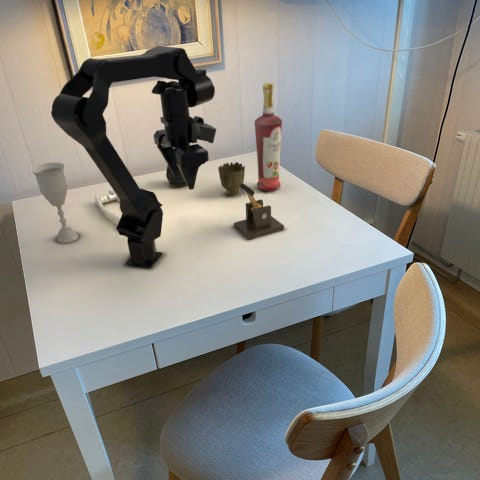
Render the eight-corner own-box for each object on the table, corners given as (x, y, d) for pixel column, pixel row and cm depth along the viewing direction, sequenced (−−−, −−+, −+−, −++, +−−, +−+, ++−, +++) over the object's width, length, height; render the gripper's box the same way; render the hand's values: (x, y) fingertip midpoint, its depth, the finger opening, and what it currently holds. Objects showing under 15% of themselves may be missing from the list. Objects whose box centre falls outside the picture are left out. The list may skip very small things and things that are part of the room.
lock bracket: (248, 239, 119) (247, 215, 115) (233, 226, 124) (232, 203, 120) (284, 229, 122) (284, 206, 118) (268, 217, 128) (268, 194, 124)
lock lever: (247, 193, 113) (255, 187, 113) (237, 186, 117) (245, 180, 117) (261, 222, 119) (269, 217, 120) (251, 215, 123) (259, 209, 123)
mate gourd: (196, 182, 149) (193, 149, 143) (181, 191, 144) (177, 157, 138) (177, 178, 152) (173, 145, 146) (162, 186, 147) (157, 153, 141)
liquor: (267, 195, 139) (266, 88, 122) (250, 188, 143) (247, 84, 126) (286, 188, 142) (288, 83, 125) (269, 181, 147) (269, 79, 130)
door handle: (119, 194, 144) (162, 223, 127) (88, 204, 139) (128, 235, 123) (117, 185, 142) (160, 214, 126) (85, 195, 137) (126, 225, 121)
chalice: (52, 246, 120) (30, 175, 109) (53, 234, 125) (32, 164, 114) (83, 241, 121) (64, 170, 110) (82, 229, 126) (64, 160, 115)
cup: (216, 191, 142) (214, 164, 137) (239, 186, 145) (237, 159, 140) (226, 201, 137) (224, 173, 132) (250, 195, 139) (249, 168, 134)
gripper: (228, 116, 101) (232, 188, 111) (193, 98, 115) (199, 163, 124) (178, 126, 98) (186, 199, 107) (148, 105, 111) (158, 172, 121)
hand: (184, 182), depth 115 cm, fingers open, 9 cm apart
